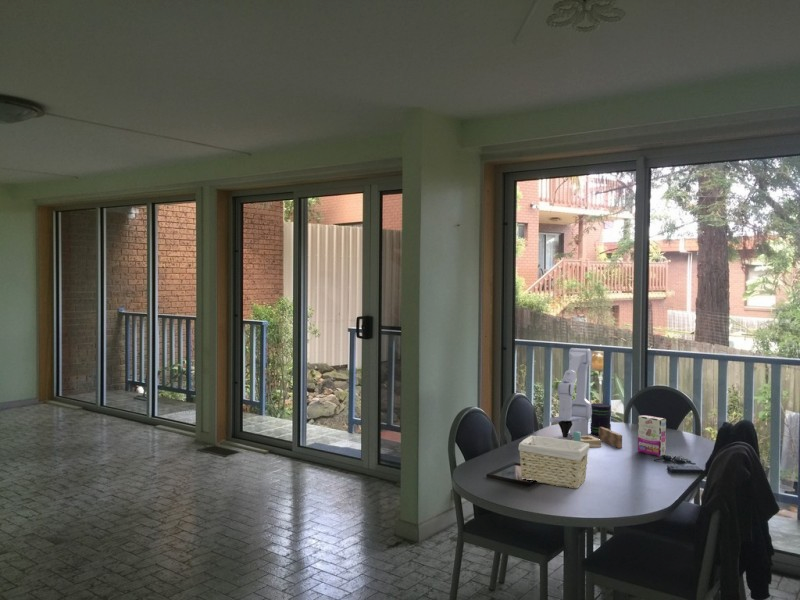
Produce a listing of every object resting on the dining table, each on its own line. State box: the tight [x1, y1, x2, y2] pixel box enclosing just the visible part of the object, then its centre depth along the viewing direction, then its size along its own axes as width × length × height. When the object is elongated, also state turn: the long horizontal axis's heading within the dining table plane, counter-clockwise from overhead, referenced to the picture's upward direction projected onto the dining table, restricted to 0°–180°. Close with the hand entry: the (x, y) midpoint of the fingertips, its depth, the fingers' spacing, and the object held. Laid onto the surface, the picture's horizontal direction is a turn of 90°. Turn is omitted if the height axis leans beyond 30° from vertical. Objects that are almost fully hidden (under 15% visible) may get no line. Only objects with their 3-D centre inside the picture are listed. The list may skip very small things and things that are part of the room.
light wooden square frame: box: [570, 434, 602, 448], centre depth 298 cm, size 10×10×3 cm
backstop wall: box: [598, 427, 623, 449], centre depth 300 cm, size 18×2×6 cm, turn 11°
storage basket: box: [518, 434, 590, 489], centre depth 242 cm, size 24×16×15 cm
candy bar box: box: [637, 414, 667, 457], centre depth 282 cm, size 11×5×16 cm, turn 37°
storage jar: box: [589, 402, 612, 437], centre depth 319 cm, size 10×10×15 cm
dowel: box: [573, 431, 581, 442], centre depth 289 cm, size 3×3×8 cm
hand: (565, 437), depth 296 cm, fingers closed
